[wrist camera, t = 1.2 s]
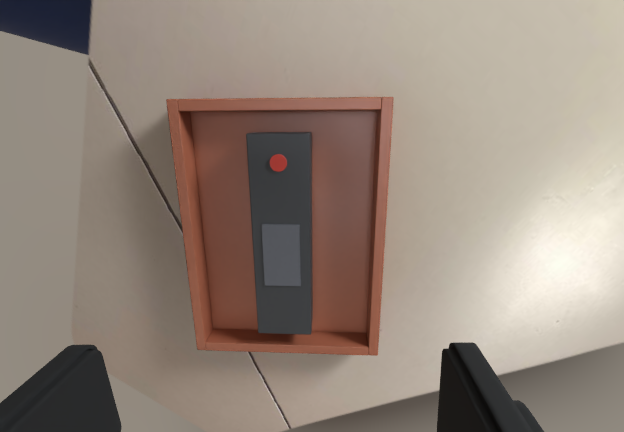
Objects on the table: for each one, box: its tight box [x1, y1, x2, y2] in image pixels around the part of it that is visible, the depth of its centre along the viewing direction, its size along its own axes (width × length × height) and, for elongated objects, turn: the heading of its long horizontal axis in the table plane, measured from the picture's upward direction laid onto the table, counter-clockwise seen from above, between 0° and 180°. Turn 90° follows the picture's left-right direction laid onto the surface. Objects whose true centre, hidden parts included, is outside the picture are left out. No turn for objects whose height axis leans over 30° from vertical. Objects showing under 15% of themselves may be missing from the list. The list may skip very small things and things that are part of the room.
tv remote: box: [246, 132, 313, 335], centre depth 25 cm, size 4×16×3 cm, turn 0°
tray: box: [166, 97, 394, 355], centre depth 26 cm, size 16×21×3 cm
